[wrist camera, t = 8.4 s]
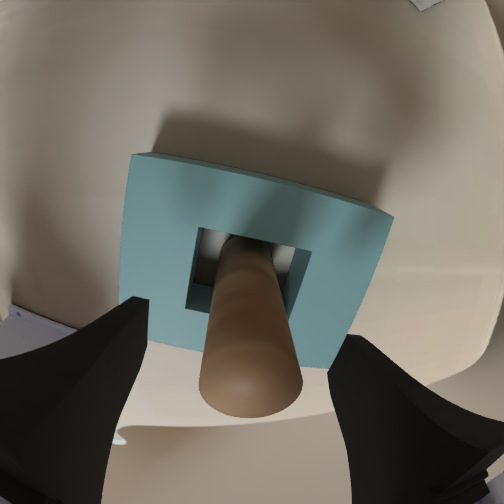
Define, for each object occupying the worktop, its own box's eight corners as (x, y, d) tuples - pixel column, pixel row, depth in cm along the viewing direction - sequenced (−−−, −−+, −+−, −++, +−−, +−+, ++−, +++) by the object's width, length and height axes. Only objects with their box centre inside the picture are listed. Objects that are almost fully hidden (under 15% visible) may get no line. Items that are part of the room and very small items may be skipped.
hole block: (133, 306, 18) (119, 332, 15) (150, 152, 14) (131, 154, 12) (318, 340, 19) (329, 368, 17) (370, 204, 16) (394, 216, 13)
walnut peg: (215, 275, 17) (193, 410, 8) (225, 228, 16) (206, 342, 7) (263, 285, 18) (284, 421, 8) (276, 239, 17) (318, 358, 7)
